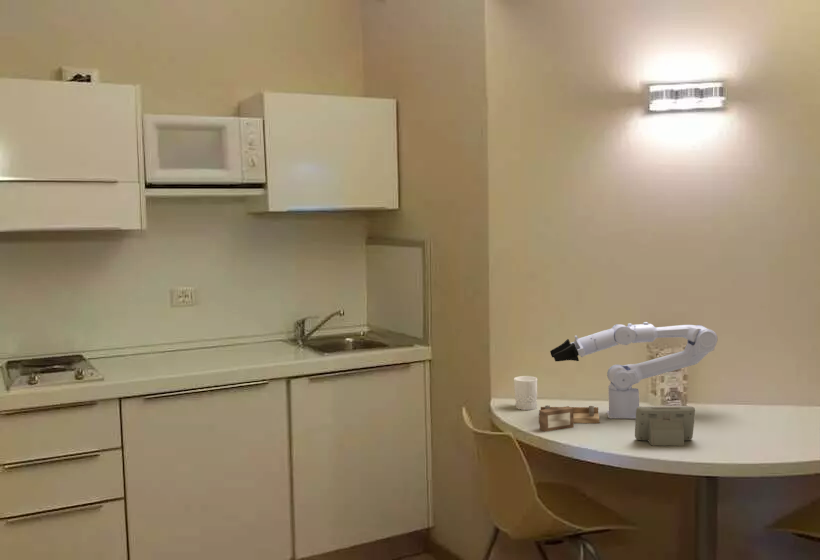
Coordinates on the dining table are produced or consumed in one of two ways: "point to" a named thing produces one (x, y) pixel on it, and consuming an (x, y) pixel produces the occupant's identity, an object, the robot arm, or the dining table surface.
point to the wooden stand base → (582, 414)
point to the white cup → (525, 392)
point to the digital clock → (664, 424)
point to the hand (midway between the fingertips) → (552, 356)
